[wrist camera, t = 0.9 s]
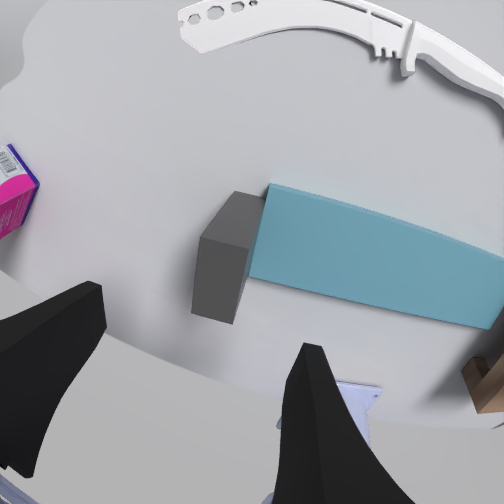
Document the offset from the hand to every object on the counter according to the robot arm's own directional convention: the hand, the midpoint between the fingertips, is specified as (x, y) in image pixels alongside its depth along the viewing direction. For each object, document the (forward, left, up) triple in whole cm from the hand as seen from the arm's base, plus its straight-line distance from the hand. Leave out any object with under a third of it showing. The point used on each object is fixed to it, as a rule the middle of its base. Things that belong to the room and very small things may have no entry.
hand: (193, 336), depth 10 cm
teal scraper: (0, -10, -10) cm, 15 cm away
